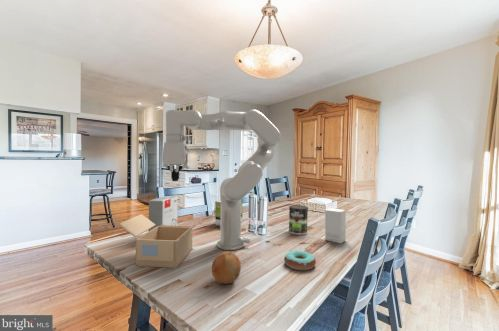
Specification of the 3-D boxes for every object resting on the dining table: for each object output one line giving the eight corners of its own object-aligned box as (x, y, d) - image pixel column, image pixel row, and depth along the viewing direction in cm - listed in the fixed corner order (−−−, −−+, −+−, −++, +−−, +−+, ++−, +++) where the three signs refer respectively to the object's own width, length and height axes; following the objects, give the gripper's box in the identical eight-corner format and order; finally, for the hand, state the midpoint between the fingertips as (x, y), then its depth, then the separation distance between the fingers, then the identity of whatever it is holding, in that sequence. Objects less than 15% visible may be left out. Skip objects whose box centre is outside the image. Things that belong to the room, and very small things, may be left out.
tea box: (230, 219, 161) (230, 197, 160) (242, 222, 155) (243, 199, 154) (214, 224, 149) (214, 200, 148) (227, 227, 143) (227, 202, 142)
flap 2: (193, 226, 107) (206, 215, 107) (179, 239, 91) (195, 225, 91) (192, 226, 107) (206, 214, 107) (179, 238, 91) (194, 224, 91)
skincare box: (345, 240, 122) (346, 210, 122) (340, 244, 118) (341, 212, 117) (329, 236, 128) (330, 207, 128) (324, 240, 123) (324, 209, 123)
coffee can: (305, 235, 130) (306, 209, 129) (286, 233, 133) (287, 207, 133) (308, 230, 139) (309, 205, 139) (290, 228, 143) (291, 204, 142)
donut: (293, 256, 103) (293, 246, 103) (320, 264, 96) (321, 254, 96) (278, 265, 94) (278, 255, 94) (307, 275, 86) (307, 264, 86)
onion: (222, 272, 88) (223, 244, 87) (246, 279, 83) (246, 250, 82) (204, 284, 79) (205, 254, 79) (230, 293, 74) (230, 260, 74)
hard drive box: (162, 242, 117) (162, 201, 116) (147, 241, 118) (147, 200, 118) (177, 232, 132) (177, 196, 131) (165, 231, 134) (165, 195, 133)
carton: (192, 248, 109) (193, 226, 109) (175, 269, 90) (175, 241, 89) (158, 247, 111) (158, 224, 110) (134, 266, 91) (134, 239, 91)
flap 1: (155, 224, 109) (141, 213, 109) (135, 236, 93) (119, 223, 93) (155, 225, 109) (140, 214, 109) (135, 237, 93) (118, 224, 93)
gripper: (194, 139, 110) (194, 180, 111) (161, 139, 111) (161, 180, 111) (189, 138, 103) (189, 181, 104) (154, 138, 103) (155, 181, 104)
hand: (175, 180), depth 107 cm, fingers closed
